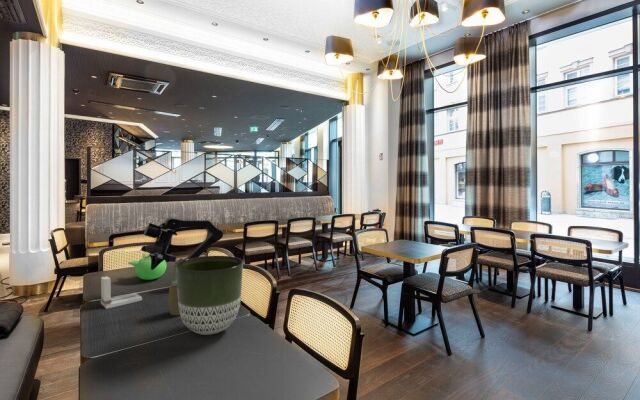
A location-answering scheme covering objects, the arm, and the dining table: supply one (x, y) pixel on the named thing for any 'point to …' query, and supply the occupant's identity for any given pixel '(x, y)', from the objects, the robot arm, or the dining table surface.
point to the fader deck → (122, 300)
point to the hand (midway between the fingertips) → (152, 269)
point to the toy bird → (148, 268)
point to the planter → (209, 292)
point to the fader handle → (106, 290)
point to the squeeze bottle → (173, 299)
